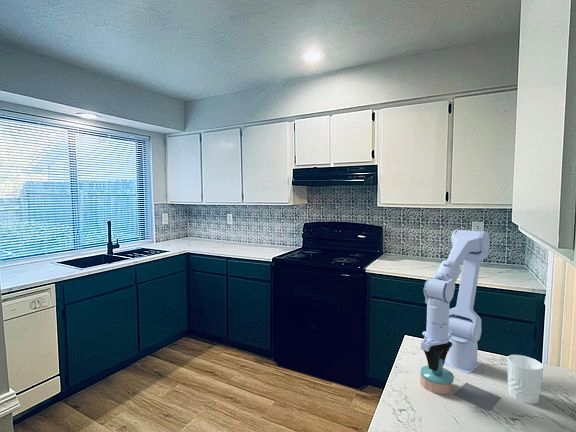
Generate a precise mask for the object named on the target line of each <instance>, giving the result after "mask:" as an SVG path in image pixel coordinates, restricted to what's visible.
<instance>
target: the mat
mask: <svg viewBox="0 0 576 432" xmlns="http://www.w3.org/2000/svg"><path fill="white" fill-rule="evenodd" d="M452 396H455V397H457V398H458V399H461V400H463V401H465V402H468V403H470V404H472V405H474V406H476V407H479V408H480V409H483V410H484V411H487V412H490V411H491V410H492V409H493V408H494V407H495V406H496V404H497V403H498V402H499V401H500V400H501V399H502V397H501V396H499V395H498V394H497V395H496V394H495V393H492V392H490V391H488V390H485V389H483V388H481V387H478V386H476V385H473V384H471V383H468V382H465V383H464V384H462V386H461V387H459V388H458V389H457V390H456V391H454V393H452Z"/></svg>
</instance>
